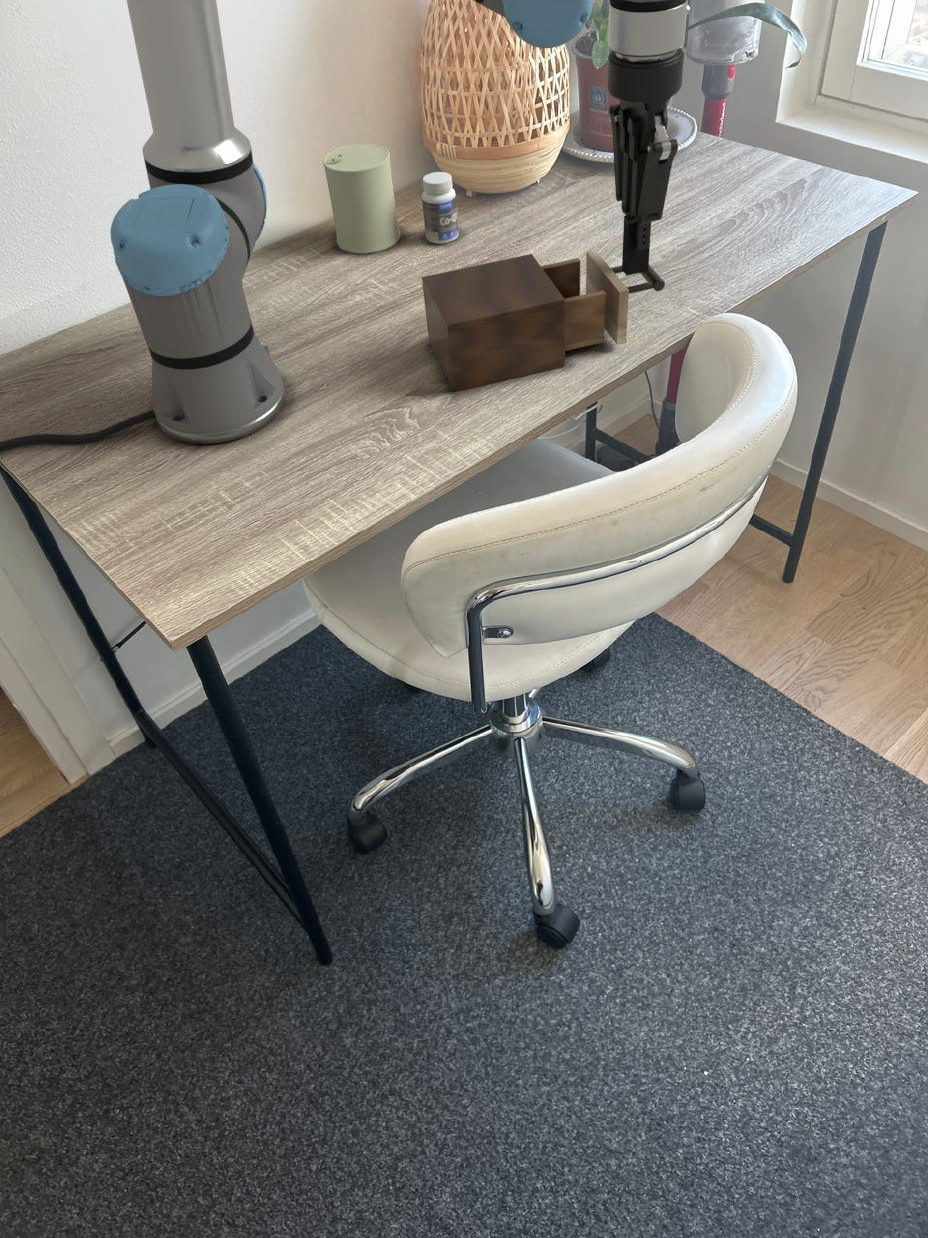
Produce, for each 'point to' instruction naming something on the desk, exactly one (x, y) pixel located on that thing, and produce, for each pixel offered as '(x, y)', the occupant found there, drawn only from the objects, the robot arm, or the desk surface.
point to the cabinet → (495, 321)
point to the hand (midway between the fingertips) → (635, 270)
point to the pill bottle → (439, 208)
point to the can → (362, 197)
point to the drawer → (595, 299)
